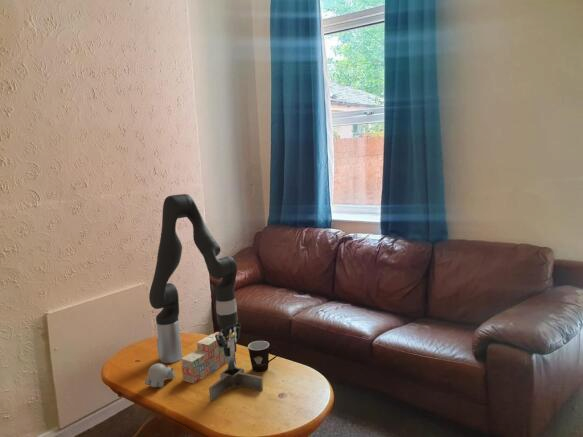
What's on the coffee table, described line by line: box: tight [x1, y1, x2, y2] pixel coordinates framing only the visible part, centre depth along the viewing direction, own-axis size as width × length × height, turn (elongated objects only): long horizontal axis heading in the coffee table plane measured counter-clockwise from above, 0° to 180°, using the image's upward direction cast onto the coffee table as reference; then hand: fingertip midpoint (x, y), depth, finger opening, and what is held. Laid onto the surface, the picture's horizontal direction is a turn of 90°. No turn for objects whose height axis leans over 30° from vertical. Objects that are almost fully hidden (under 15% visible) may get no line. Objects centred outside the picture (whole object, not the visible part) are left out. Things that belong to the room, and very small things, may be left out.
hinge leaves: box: [208, 366, 264, 402], centre depth 166 cm, size 16×16×5 cm
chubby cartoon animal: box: [144, 362, 176, 388], centre depth 176 cm, size 7×12×8 cm, turn 139°
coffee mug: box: [247, 340, 280, 373], centre depth 182 cm, size 12×9×10 cm
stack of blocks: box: [180, 331, 227, 384], centre depth 184 cm, size 21×6×12 cm, turn 147°
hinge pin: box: [224, 332, 237, 370], centre depth 171 cm, size 5×5×14 cm
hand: (230, 353), depth 171 cm, fingers closed on hinge pin, 3 cm apart
